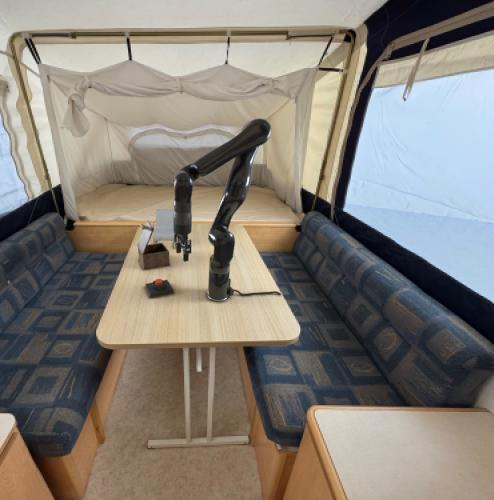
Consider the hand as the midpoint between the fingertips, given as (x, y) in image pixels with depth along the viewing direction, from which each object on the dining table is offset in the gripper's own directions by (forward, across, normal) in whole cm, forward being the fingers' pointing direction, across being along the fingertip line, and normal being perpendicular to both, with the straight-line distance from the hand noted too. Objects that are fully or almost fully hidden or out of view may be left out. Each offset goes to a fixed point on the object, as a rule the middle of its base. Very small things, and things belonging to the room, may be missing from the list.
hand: (182, 256), depth 115 cm
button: (+16, +8, +9) cm, 20 cm away
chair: (+20, +61, -12) cm, 66 cm away
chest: (+20, +35, +3) cm, 41 cm away
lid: (+4, +35, +7) cm, 36 cm away
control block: (+20, +8, +9) cm, 23 cm away
